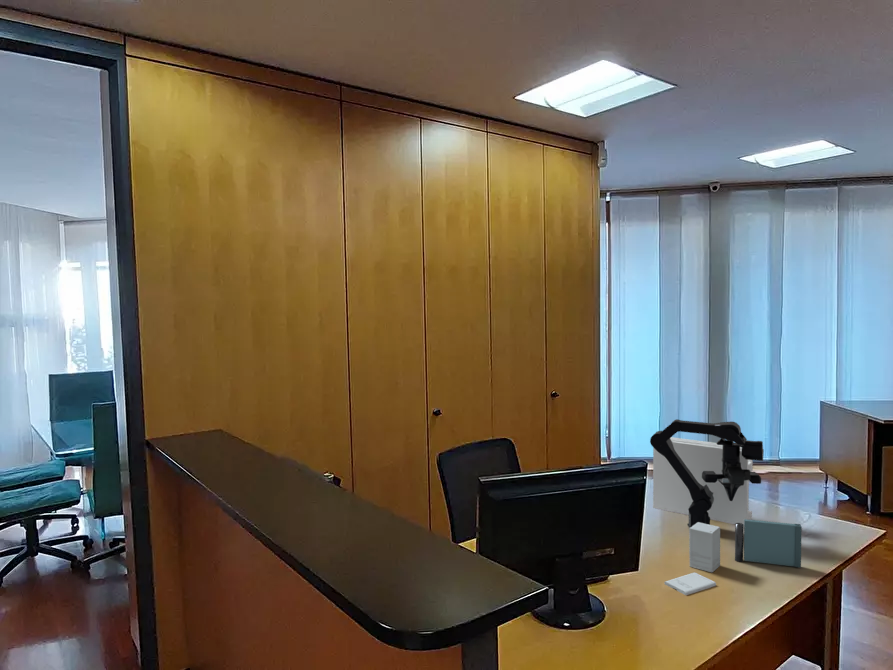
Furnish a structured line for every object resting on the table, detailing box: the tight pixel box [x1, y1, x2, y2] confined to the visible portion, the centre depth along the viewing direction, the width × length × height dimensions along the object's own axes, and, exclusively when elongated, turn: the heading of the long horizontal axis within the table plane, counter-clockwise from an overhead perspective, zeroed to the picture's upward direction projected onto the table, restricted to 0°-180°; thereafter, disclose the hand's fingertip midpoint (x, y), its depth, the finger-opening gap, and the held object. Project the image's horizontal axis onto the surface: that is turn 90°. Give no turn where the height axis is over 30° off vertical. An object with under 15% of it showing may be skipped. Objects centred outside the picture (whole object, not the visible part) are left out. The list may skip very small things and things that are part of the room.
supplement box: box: [688, 522, 721, 573], centre depth 201 cm, size 7×7×13 cm
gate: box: [743, 519, 803, 569], centre depth 201 cm, size 16×2×13 cm, turn 70°
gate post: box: [734, 523, 744, 563], centre depth 205 cm, size 2×2×12 cm
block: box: [652, 436, 754, 527], centre depth 248 cm, size 35×8×28 cm, turn 51°
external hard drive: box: [663, 572, 717, 596], centre depth 189 cm, size 2×8×12 cm
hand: (730, 500), depth 227 cm, fingers closed
